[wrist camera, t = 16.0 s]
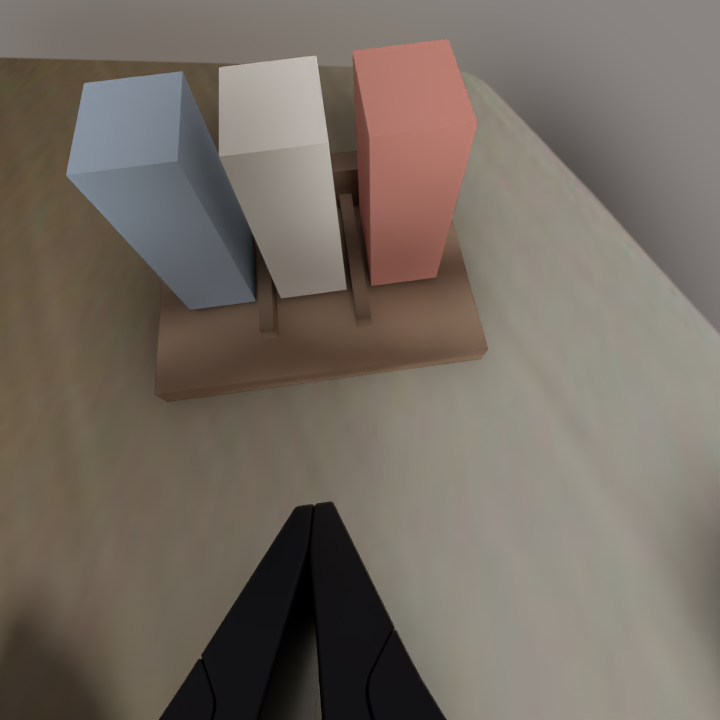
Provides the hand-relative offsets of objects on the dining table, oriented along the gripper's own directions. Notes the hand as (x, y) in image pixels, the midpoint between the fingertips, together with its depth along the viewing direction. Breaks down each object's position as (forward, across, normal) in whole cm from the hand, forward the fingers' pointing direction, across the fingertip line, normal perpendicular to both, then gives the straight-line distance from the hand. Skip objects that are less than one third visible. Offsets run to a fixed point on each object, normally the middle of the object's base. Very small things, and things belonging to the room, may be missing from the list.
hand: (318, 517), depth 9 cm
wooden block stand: (+19, +1, -1) cm, 19 cm away
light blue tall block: (+18, +6, -3) cm, 19 cm away
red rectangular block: (+18, -5, -3) cm, 19 cm away
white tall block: (+18, +1, -3) cm, 18 cm away
